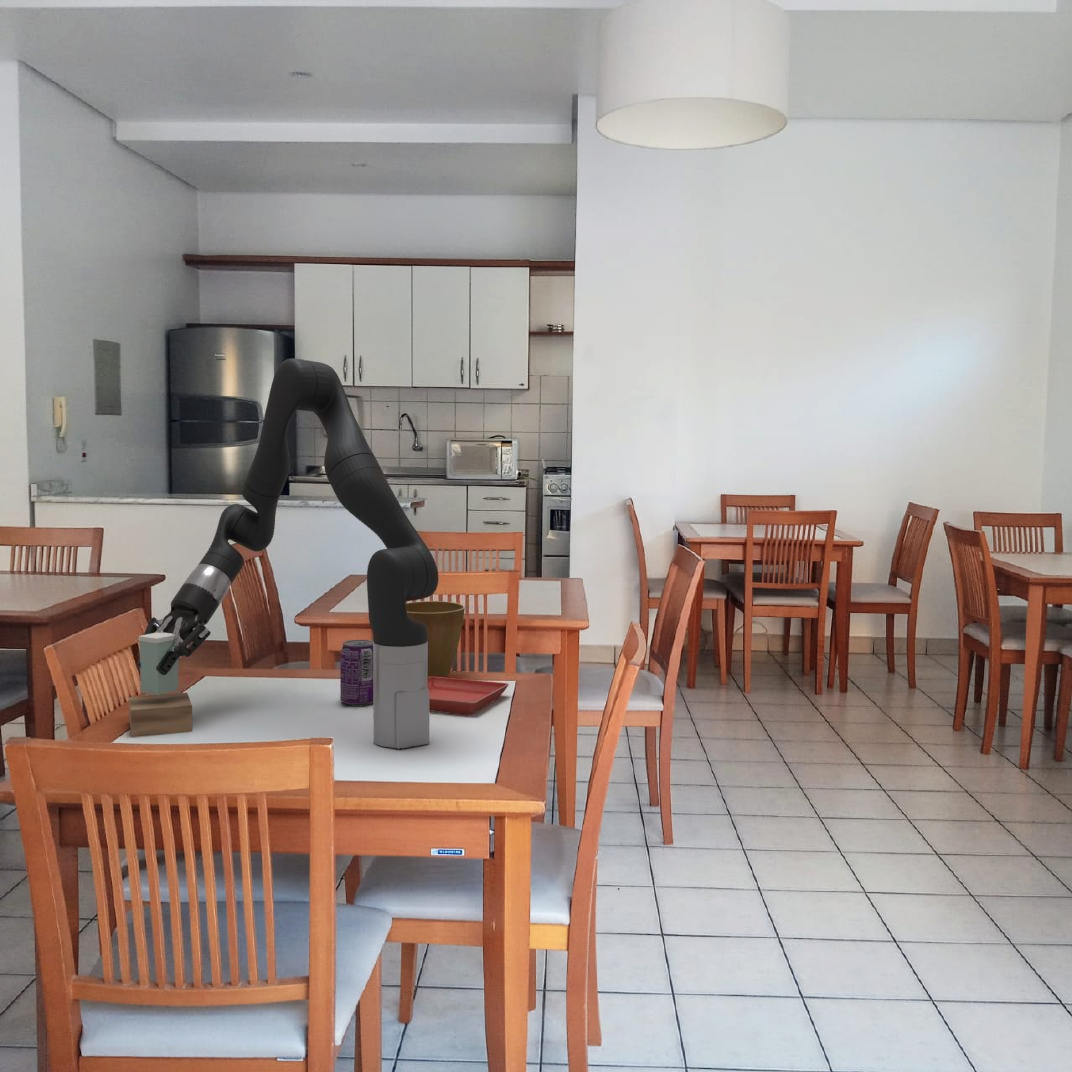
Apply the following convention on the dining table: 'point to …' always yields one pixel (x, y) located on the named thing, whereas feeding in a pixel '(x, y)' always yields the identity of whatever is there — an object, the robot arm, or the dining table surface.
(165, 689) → the tea tin
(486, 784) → the dining table surface
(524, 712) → the dining table surface
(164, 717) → the walnut box
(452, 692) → the plant saucer
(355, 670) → the beverage can
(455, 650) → the plant pot
